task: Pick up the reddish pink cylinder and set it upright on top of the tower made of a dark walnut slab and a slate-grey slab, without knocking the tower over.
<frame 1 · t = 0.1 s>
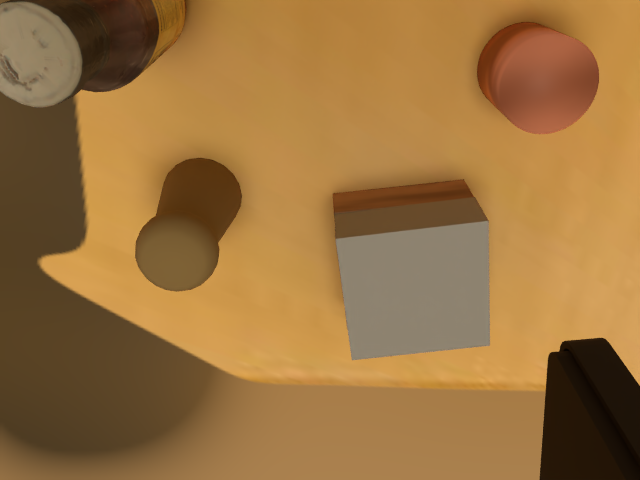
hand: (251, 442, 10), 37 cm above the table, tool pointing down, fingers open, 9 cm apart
sauce bottle: (147, 3, 41), on the table
reddish pink cylinder: (520, 67, 43), on the table
tower top block: (408, 266, 46), point 4 cm above the table, touching tower bottom block
cork: (202, 194, 47), on the table
tower bottom block: (400, 242, 50), on the table, touching tower top block
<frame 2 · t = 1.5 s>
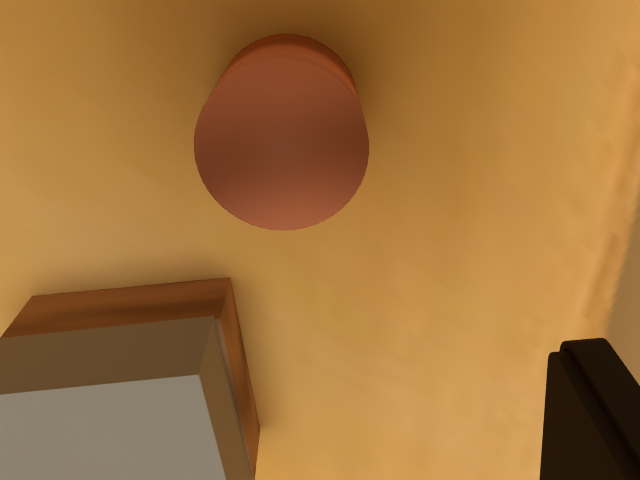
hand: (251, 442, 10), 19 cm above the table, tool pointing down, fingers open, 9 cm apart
reddish pink cylinder: (288, 106, 26), on the table
tower top block: (131, 413, 29), point 4 cm above the table
tower bottom block: (154, 362, 33), on the table
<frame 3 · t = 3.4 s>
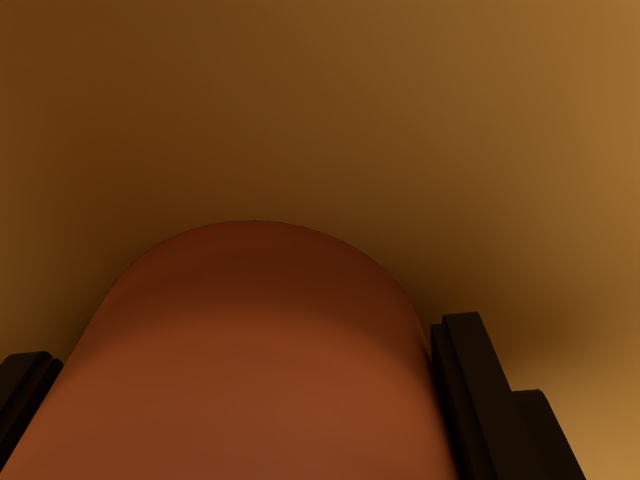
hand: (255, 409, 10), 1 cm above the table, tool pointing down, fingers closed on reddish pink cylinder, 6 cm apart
reddish pink cylinder: (260, 372, 11), on the table, touching gripper
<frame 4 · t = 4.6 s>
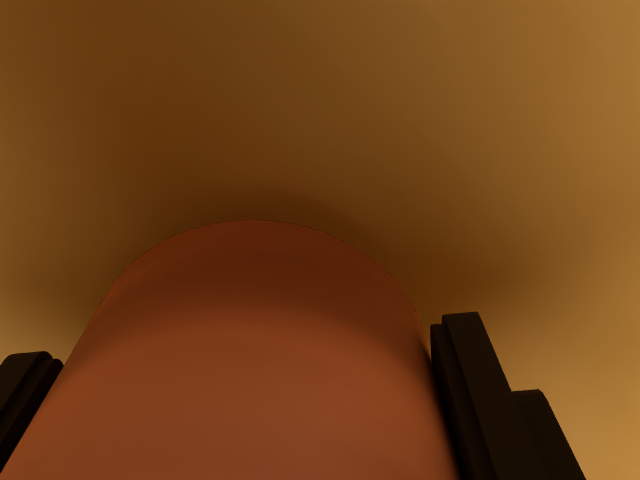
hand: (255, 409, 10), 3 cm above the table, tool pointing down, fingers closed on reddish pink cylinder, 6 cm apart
reddish pink cylinder: (260, 371, 11), point 2 cm above the table, touching gripper
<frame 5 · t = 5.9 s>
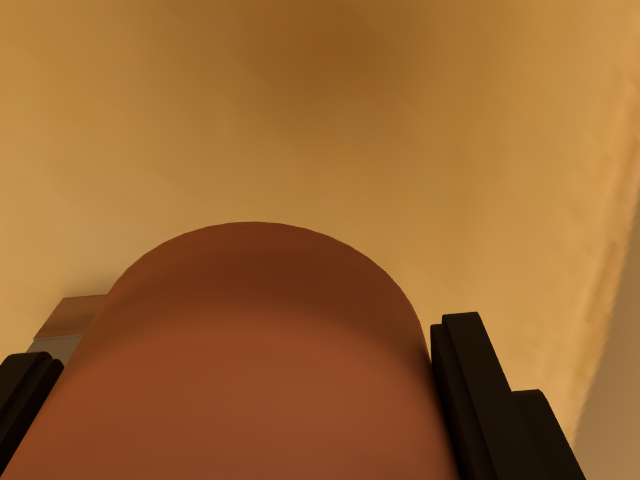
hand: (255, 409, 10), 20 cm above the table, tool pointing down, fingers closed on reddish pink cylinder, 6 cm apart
reddish pink cylinder: (260, 373, 11), point 19 cm above the table, touching gripper
tower top block: (161, 412, 31), point 4 cm above the table, touching tower bottom block
tower bottom block: (176, 363, 35), on the table, touching tower top block
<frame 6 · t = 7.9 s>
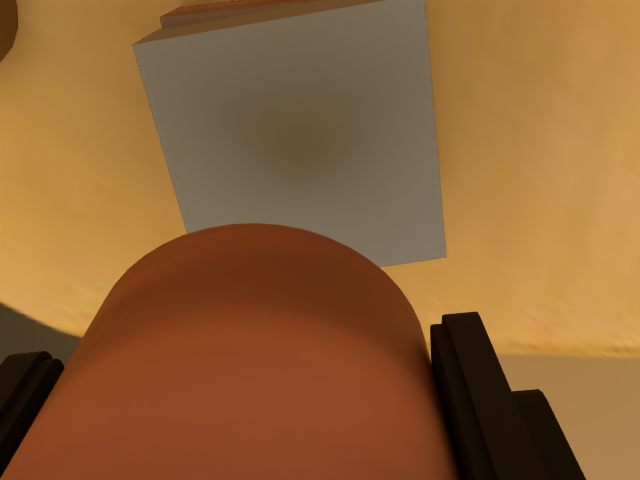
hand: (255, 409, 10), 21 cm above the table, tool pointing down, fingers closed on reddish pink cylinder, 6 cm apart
reddish pink cylinder: (260, 374, 11), point 21 cm above the table, touching gripper
tower top block: (304, 129, 26), point 4 cm above the table, touching tower bottom block
tower bottom block: (301, 104, 30), on the table, touching tower top block
when the fingers open (11 cm above the table, at t = 11.0 s): reddish pink cylinder drops 2 cm, resting on tower top block.
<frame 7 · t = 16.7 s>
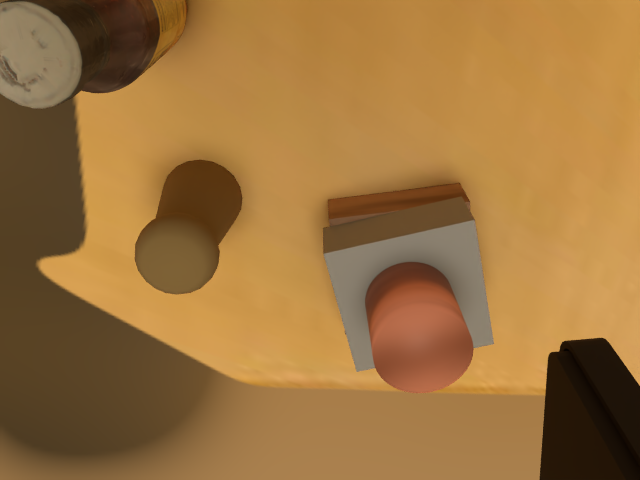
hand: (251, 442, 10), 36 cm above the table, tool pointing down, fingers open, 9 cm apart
sauce bottle: (147, 4, 41), on the table
reddish pink cylinder: (408, 300, 42), point 8 cm above the table, touching tower top block
tower top block: (404, 272, 46), point 4 cm above the table, touching tower bottom block, reddish pink cylinder
cork: (203, 196, 47), on the table
tower bottom block: (398, 247, 49), on the table, touching tower top block
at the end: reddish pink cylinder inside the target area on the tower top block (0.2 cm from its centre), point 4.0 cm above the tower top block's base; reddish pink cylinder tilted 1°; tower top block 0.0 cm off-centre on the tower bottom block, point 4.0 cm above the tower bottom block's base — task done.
